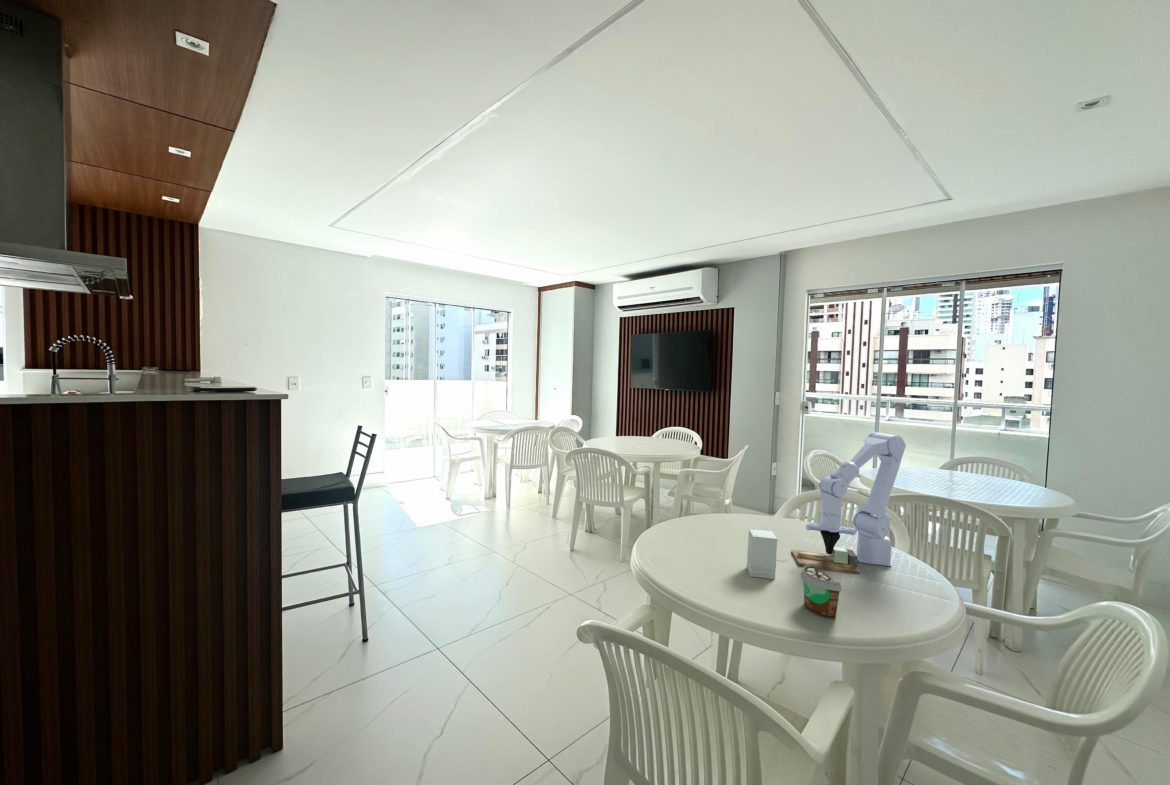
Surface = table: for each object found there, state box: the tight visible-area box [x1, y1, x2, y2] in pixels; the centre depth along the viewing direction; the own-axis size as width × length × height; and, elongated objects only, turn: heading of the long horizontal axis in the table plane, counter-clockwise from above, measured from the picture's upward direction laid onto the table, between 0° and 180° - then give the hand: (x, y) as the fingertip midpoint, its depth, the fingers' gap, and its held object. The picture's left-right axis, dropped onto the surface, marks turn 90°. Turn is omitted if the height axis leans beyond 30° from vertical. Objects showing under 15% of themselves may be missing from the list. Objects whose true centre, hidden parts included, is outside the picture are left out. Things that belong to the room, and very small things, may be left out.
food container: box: [800, 563, 842, 619], centre depth 119 cm, size 12×6×10 cm, turn 5°
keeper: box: [831, 545, 848, 564], centre depth 149 cm, size 4×4×4 cm
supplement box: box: [746, 528, 778, 580], centre depth 140 cm, size 7×7×13 cm
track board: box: [791, 548, 861, 575], centre depth 151 cm, size 18×12×4 cm, turn 75°
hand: (828, 553), depth 150 cm, fingers closed
